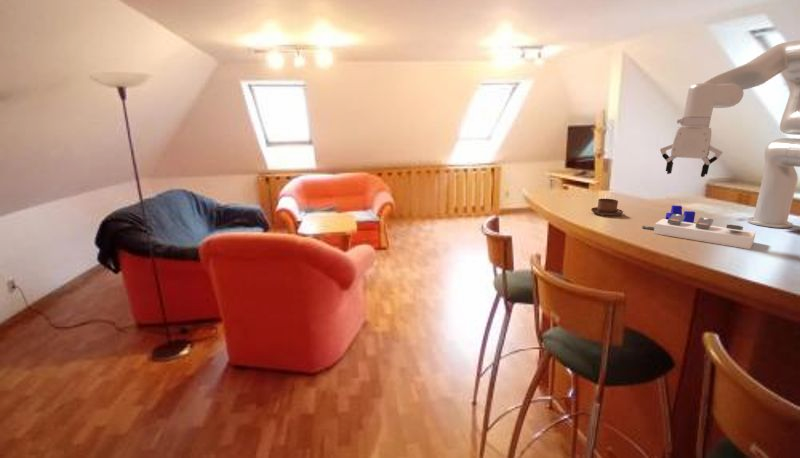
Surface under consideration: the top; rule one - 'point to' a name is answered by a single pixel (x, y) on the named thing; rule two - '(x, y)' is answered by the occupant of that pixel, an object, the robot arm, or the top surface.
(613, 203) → the cup and saucer
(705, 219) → the block
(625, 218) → the top surface
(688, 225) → the power strip
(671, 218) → the grey flat block
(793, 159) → the robot arm
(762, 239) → the top surface
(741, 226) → the grey rectangular block
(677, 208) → the cable clip
